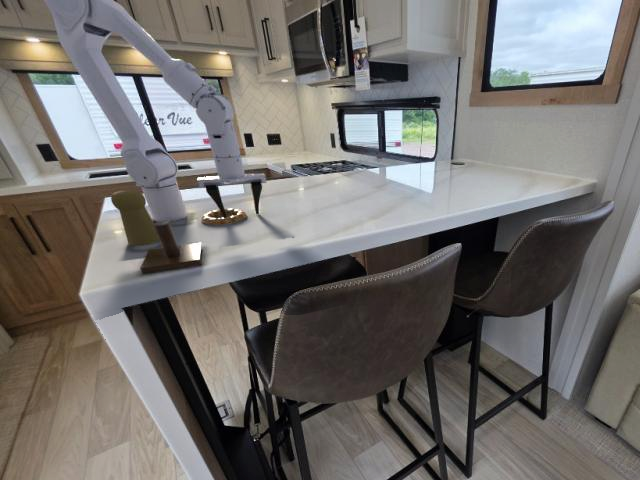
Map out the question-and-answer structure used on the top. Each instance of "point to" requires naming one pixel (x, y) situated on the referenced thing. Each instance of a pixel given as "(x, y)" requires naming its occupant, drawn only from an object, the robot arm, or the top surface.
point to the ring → (210, 219)
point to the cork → (135, 217)
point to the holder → (170, 252)
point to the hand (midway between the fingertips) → (241, 214)
